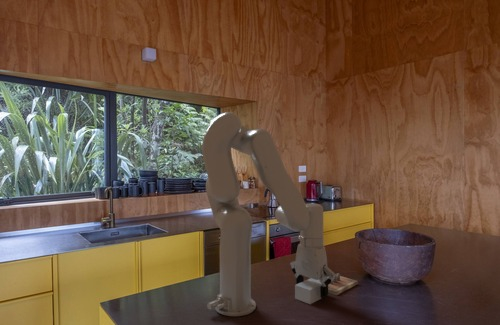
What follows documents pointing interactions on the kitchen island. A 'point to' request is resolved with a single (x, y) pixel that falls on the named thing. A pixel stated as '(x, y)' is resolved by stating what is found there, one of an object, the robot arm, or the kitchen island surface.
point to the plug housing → (308, 291)
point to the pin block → (340, 284)
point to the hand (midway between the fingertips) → (311, 292)
